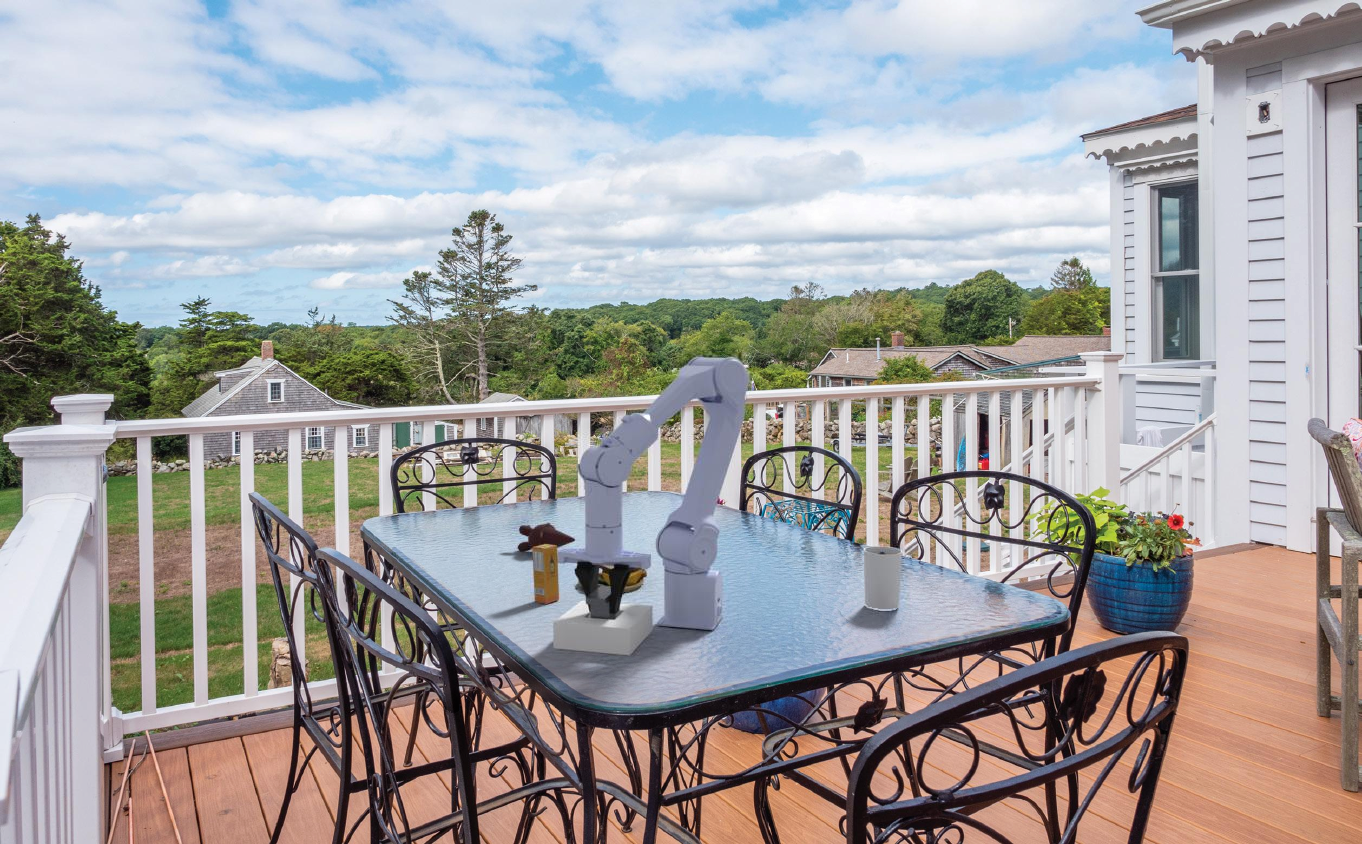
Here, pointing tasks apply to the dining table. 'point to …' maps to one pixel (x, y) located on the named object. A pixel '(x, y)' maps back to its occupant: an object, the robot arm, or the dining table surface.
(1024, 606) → the dining table surface
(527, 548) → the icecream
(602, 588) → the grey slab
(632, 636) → the well block
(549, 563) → the supplement box
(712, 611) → the robot arm
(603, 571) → the toy sandwich meal
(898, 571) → the drinking glass
